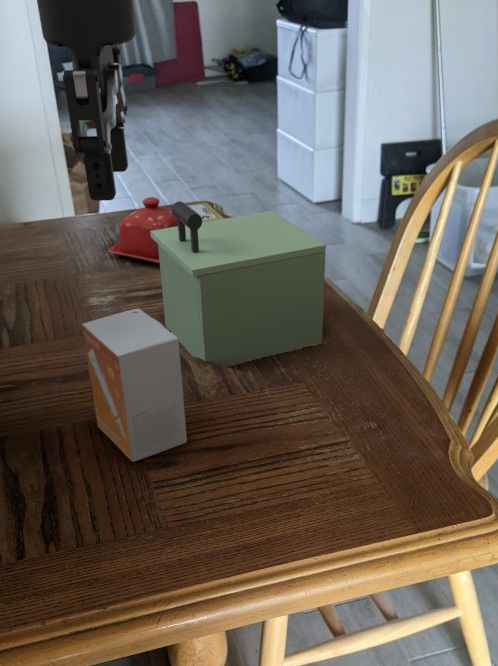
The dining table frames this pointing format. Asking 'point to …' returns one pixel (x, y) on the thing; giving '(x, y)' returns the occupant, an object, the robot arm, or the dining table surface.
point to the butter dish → (143, 231)
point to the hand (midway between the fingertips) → (110, 184)
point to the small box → (136, 382)
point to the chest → (245, 308)
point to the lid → (232, 241)
